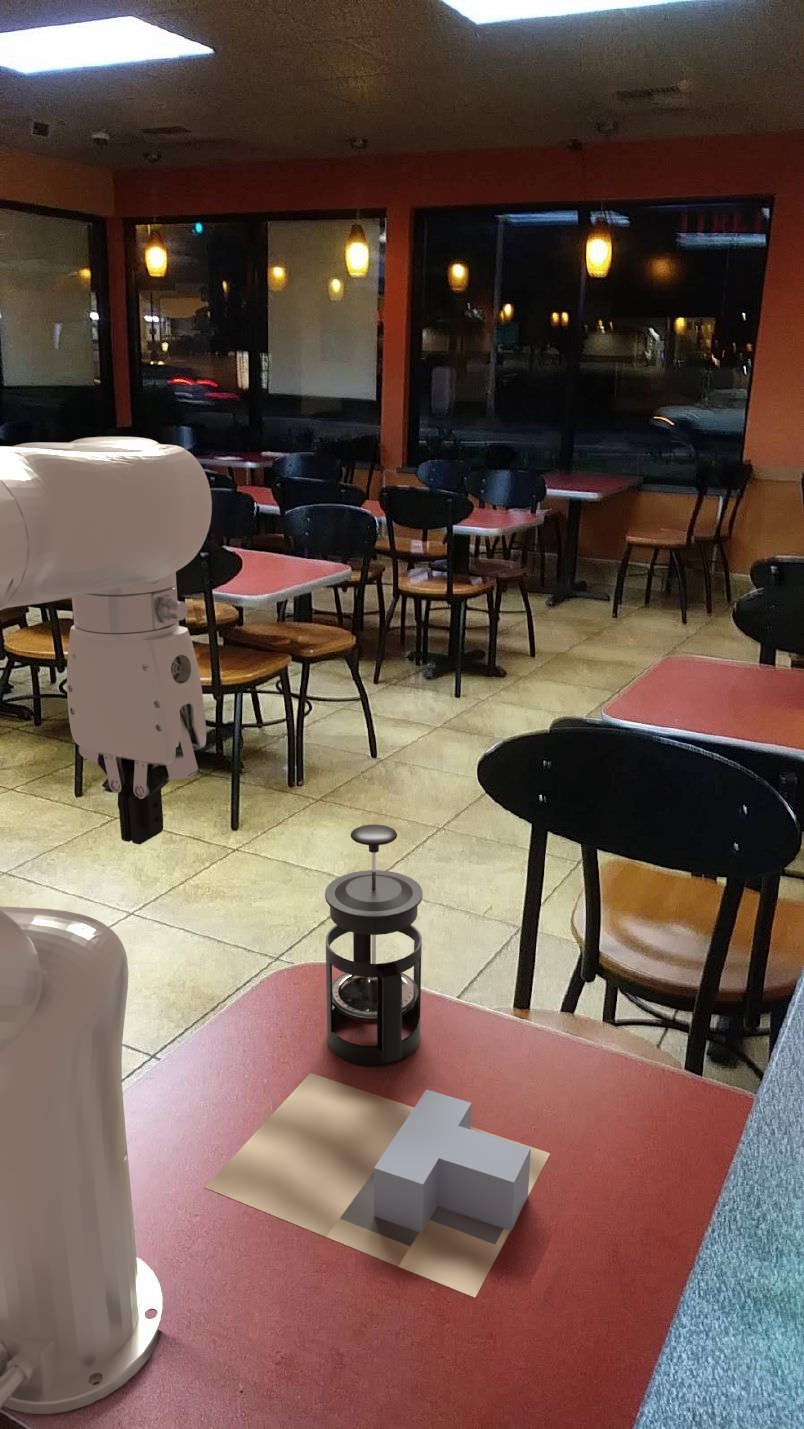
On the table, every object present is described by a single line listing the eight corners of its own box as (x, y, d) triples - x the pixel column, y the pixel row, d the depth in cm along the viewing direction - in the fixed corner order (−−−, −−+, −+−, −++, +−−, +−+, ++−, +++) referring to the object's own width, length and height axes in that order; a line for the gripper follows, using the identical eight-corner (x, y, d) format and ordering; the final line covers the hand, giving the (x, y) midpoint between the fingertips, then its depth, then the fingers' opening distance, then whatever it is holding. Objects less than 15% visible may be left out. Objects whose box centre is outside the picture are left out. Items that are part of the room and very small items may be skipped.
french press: (314, 1024, 107) (310, 813, 100) (404, 1009, 109) (406, 802, 102) (341, 1098, 96) (339, 867, 89) (440, 1080, 99) (446, 854, 92)
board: (474, 1310, 75) (475, 1297, 75) (205, 1199, 85) (205, 1187, 84) (549, 1165, 88) (550, 1153, 88) (310, 1083, 98) (310, 1072, 98)
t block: (498, 1260, 78) (500, 1210, 76) (374, 1216, 82) (374, 1167, 80) (539, 1170, 86) (542, 1124, 85) (425, 1134, 90) (426, 1089, 89)
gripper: (239, 610, 79) (248, 837, 85) (84, 590, 85) (102, 802, 91) (175, 632, 73) (190, 875, 79) (12, 609, 79) (37, 835, 85)
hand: (142, 835), depth 85 cm, fingers closed
